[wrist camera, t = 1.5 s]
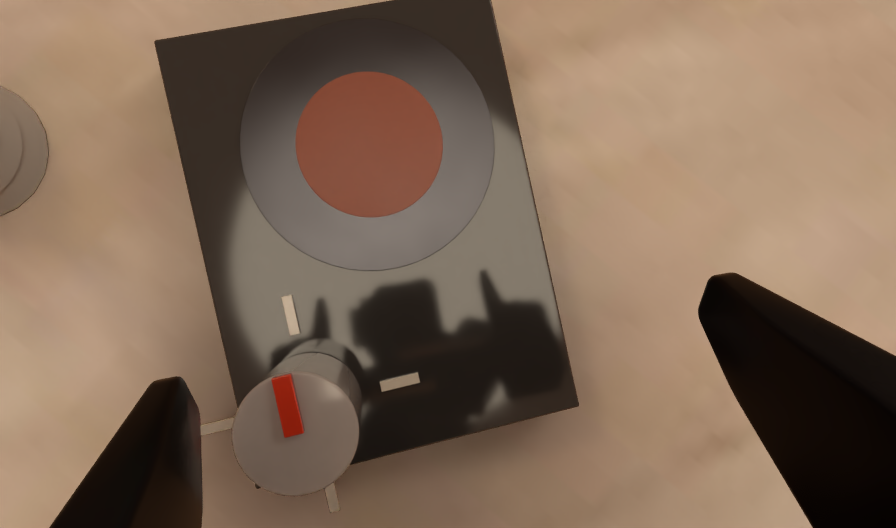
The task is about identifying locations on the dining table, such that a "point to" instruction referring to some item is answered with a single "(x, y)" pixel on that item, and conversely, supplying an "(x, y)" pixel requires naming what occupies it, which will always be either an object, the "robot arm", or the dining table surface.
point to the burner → (367, 144)
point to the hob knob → (299, 425)
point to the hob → (375, 292)
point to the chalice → (19, 151)
